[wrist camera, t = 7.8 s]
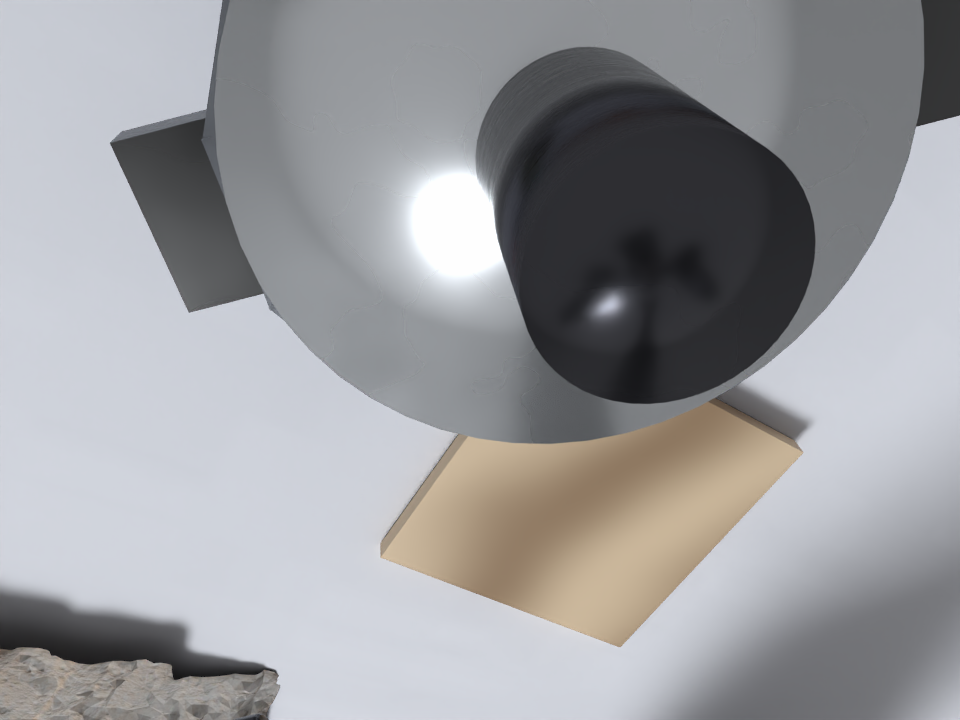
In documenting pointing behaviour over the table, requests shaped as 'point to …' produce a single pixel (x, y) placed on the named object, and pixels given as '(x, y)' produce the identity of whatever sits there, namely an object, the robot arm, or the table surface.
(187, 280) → the pot
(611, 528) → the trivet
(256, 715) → the robot arm
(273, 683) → the stone fragment
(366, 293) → the lid
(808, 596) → the table surface
